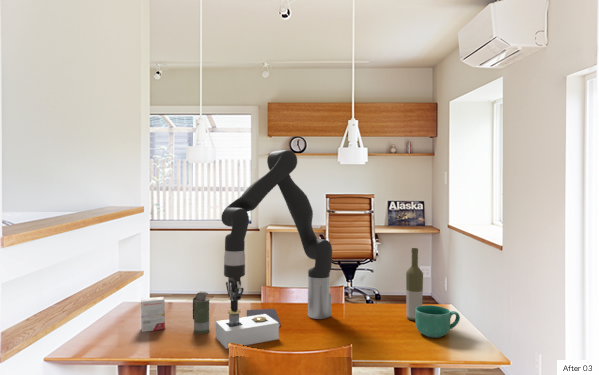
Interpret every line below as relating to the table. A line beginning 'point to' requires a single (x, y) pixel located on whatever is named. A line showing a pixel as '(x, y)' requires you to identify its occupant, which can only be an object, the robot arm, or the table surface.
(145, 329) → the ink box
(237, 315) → the peg
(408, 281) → the bottle
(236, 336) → the socket block
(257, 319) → the peg
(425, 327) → the mug
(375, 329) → the table surface
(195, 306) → the grenade
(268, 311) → the notebook
